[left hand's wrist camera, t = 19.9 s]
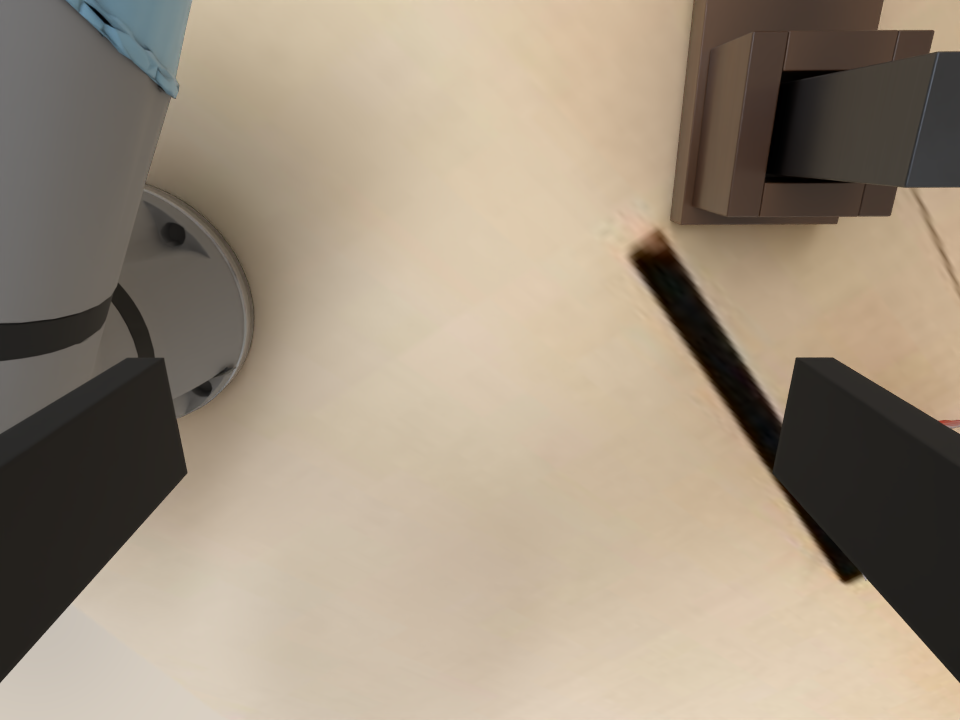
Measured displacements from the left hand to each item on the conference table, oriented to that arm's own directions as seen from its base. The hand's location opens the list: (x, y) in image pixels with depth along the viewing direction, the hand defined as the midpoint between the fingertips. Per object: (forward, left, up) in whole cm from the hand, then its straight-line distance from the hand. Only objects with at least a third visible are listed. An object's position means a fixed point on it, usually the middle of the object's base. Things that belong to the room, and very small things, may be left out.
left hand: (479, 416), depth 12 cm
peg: (+16, +6, -23) cm, 28 cm away
